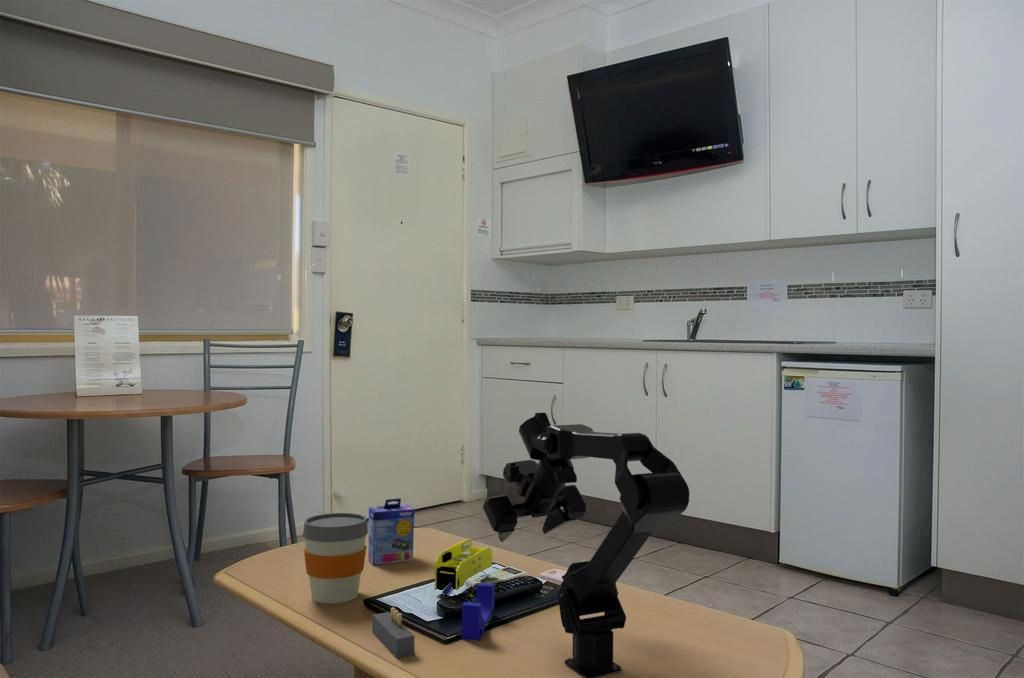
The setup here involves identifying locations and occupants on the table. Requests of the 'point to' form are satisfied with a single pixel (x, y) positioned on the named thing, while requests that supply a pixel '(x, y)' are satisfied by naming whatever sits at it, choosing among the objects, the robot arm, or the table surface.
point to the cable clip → (477, 612)
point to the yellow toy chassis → (460, 564)
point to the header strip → (393, 633)
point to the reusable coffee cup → (335, 555)
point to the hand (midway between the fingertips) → (522, 535)
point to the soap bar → (553, 575)
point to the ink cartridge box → (391, 533)
